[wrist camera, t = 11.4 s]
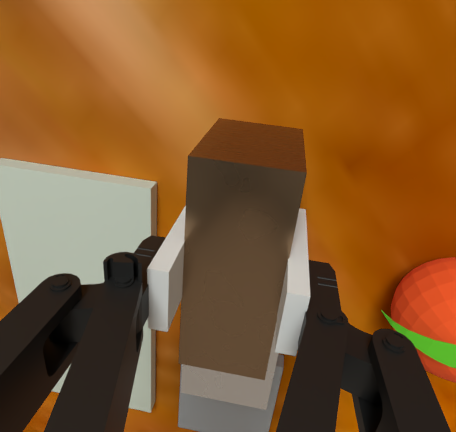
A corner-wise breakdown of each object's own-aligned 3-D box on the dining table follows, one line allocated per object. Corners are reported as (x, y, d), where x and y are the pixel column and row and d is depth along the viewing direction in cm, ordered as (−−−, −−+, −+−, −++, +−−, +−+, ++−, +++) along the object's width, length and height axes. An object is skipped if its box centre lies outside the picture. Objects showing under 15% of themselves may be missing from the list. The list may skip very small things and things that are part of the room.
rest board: (44, 377, 36) (36, 387, 35) (2, 157, 26) (-11, 163, 25) (155, 400, 35) (150, 412, 34) (157, 181, 25) (150, 189, 23)
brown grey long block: (198, 115, 18) (159, 151, 13) (324, 131, 18) (337, 177, 12) (183, 382, 27) (156, 470, 22) (267, 399, 26) (260, 493, 21)
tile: (188, 328, 31) (184, 405, 36) (181, 347, 29) (177, 426, 34) (284, 346, 30) (267, 423, 35) (283, 367, 29) (265, 446, 33)
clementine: (350, 305, 26) (367, 392, 20) (386, 221, 23) (419, 293, 17) (465, 332, 26) (519, 429, 20) (518, 249, 23) (602, 335, 16)
